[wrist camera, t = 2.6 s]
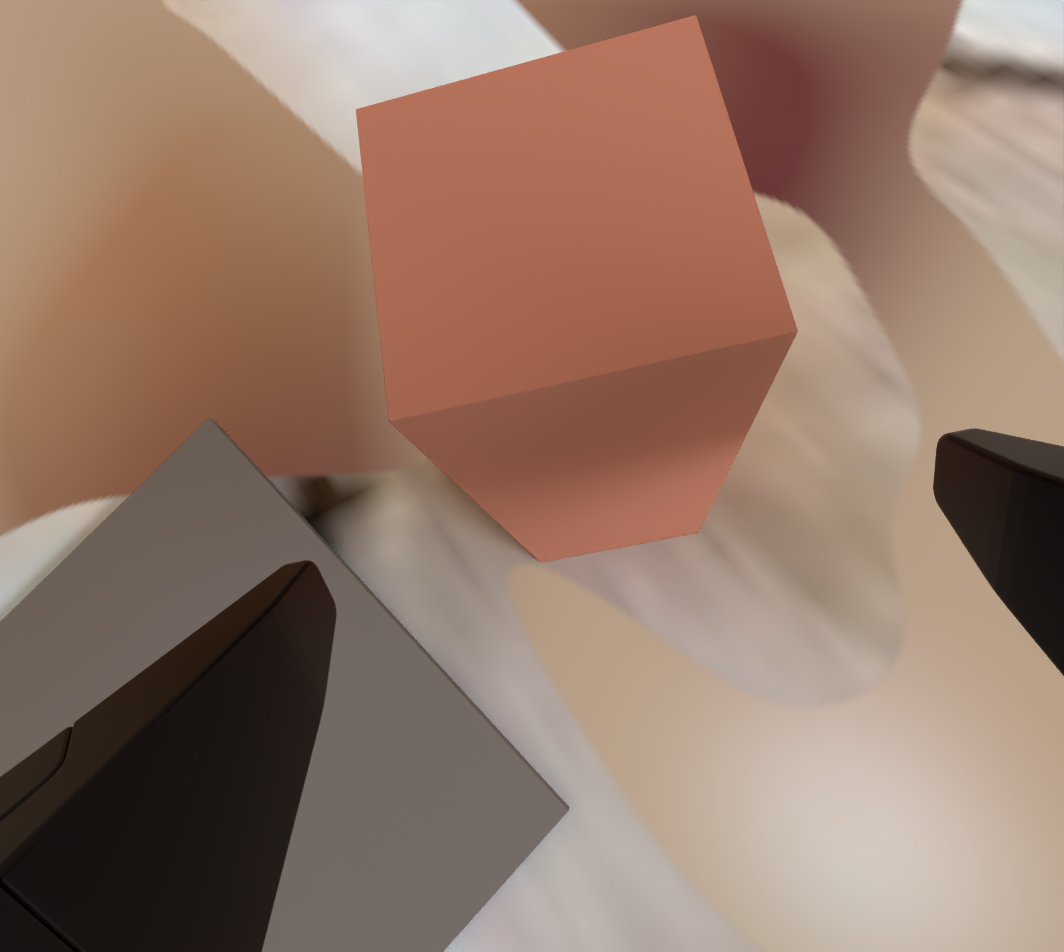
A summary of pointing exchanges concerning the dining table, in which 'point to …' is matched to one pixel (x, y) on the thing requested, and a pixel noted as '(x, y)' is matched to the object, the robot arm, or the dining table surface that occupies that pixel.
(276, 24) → the dining table surface
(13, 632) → the mat
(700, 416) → the card box
